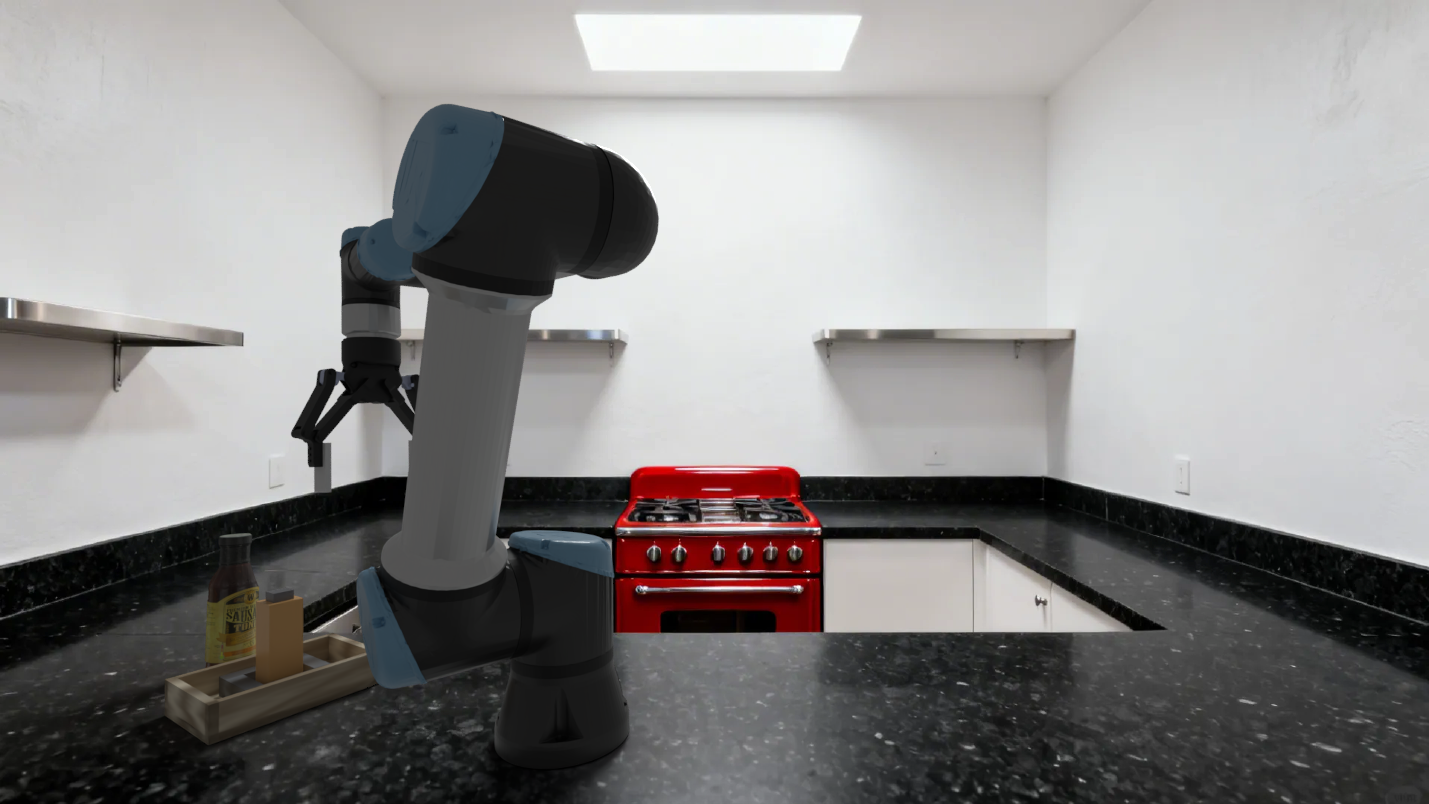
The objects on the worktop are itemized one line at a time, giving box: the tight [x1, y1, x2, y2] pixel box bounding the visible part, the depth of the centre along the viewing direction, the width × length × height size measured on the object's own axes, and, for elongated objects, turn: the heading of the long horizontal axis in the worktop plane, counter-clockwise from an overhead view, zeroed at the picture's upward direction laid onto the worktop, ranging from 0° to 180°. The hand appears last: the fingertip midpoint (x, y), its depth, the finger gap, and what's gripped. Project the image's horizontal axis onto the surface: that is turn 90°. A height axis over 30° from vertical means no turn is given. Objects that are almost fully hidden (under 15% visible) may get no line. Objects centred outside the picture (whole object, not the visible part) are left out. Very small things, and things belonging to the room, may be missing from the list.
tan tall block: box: [256, 586, 304, 684], centre depth 84 cm, size 4×4×13 cm
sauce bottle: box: [204, 532, 260, 668], centre depth 95 cm, size 7×6×20 cm
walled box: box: [164, 632, 379, 746], centre depth 84 cm, size 14×20×4 cm
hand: (372, 487), depth 89 cm, fingers open, 13 cm apart
